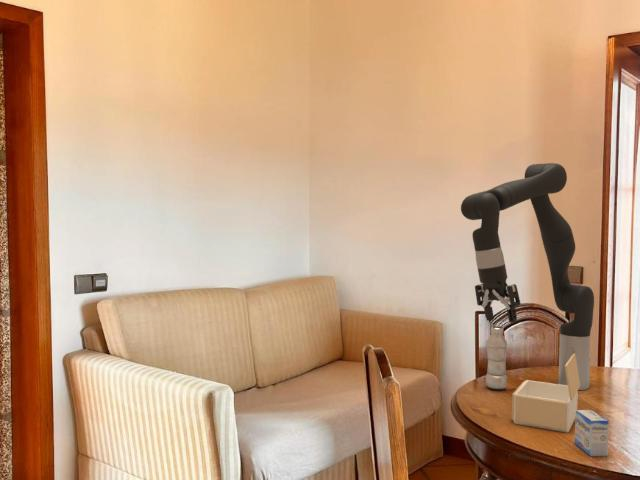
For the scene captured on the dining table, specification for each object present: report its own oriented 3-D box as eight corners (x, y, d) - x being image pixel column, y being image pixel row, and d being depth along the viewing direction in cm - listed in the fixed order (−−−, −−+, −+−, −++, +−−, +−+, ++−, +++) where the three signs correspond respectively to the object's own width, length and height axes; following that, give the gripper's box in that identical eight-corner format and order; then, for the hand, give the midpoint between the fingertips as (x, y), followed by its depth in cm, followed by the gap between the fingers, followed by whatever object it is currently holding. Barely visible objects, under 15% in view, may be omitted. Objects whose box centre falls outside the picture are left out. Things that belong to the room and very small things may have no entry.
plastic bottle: (508, 392, 200) (509, 329, 198) (485, 390, 201) (487, 328, 200) (506, 386, 206) (507, 325, 205) (484, 385, 207) (485, 324, 206)
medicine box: (574, 444, 157) (574, 409, 157) (591, 443, 157) (592, 409, 157) (590, 456, 149) (591, 420, 149) (608, 456, 150) (609, 420, 149)
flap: (573, 353, 178) (575, 353, 177) (578, 385, 177) (580, 385, 177) (564, 365, 165) (566, 365, 164) (570, 400, 164) (572, 400, 164)
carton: (524, 405, 186) (525, 379, 186) (577, 414, 179) (578, 386, 178) (510, 423, 171) (511, 394, 171) (567, 433, 164) (568, 403, 164)
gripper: (519, 261, 172) (530, 319, 173) (482, 262, 184) (492, 316, 185) (500, 267, 168) (511, 326, 169) (463, 267, 180) (473, 322, 181)
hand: (501, 320), depth 177 cm, fingers open, 8 cm apart
